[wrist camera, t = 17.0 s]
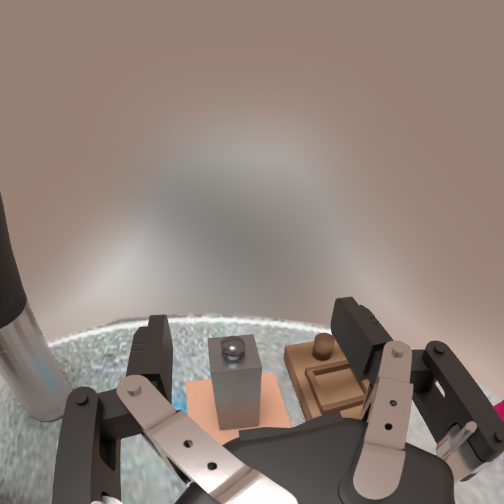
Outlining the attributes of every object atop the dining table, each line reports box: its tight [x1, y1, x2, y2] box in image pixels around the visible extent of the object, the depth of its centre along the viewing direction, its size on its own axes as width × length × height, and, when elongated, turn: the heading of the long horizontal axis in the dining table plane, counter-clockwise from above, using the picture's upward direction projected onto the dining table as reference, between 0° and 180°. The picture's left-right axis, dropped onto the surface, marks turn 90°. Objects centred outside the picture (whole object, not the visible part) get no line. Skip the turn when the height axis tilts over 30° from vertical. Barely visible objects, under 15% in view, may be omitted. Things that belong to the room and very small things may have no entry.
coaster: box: [186, 373, 292, 445], centre depth 34 cm, size 13×13×1 cm
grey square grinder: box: [208, 334, 262, 431], centre depth 31 cm, size 5×5×13 cm
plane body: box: [284, 333, 370, 422], centre depth 35 cm, size 20×10×6 cm, turn 10°
